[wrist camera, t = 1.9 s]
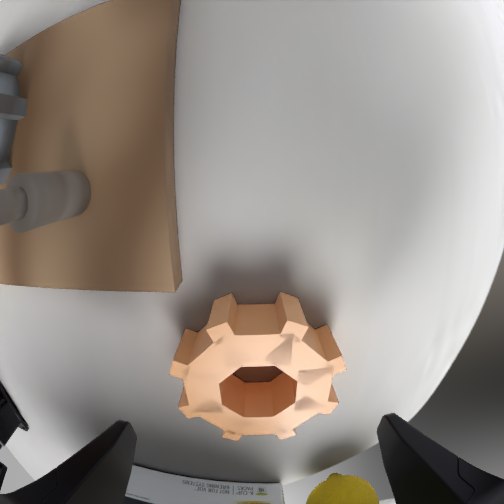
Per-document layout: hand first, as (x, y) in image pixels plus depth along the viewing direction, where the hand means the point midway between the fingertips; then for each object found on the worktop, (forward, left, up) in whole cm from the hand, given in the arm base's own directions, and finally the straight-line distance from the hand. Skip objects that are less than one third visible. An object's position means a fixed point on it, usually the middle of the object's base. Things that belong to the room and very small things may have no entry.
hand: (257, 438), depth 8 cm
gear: (0, 0, -5) cm, 5 cm away
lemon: (+6, -13, -5) cm, 16 cm away
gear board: (-11, +11, -5) cm, 16 cm away
